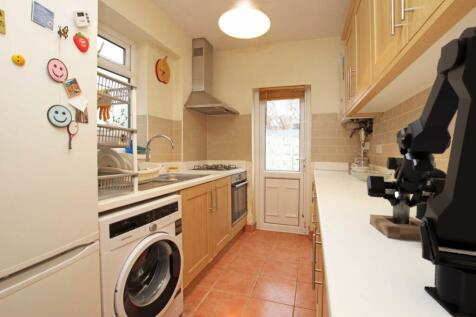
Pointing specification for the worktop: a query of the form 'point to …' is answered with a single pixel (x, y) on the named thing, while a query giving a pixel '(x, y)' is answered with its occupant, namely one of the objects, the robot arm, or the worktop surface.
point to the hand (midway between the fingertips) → (400, 205)
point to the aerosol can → (422, 208)
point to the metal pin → (401, 209)
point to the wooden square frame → (396, 227)
